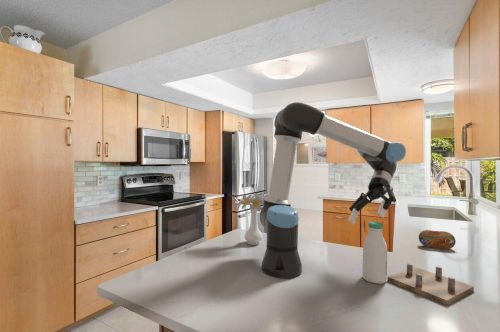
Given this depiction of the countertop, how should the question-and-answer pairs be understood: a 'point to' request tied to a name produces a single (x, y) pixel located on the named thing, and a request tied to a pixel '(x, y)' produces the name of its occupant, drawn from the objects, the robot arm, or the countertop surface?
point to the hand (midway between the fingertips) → (364, 219)
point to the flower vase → (252, 217)
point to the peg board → (431, 284)
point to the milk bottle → (375, 255)
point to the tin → (437, 239)
